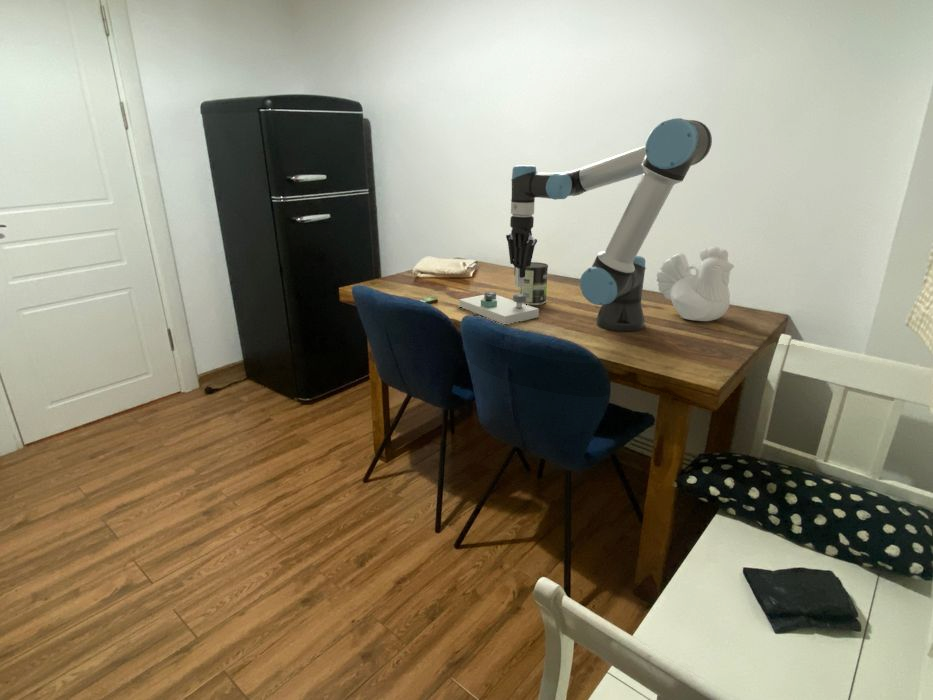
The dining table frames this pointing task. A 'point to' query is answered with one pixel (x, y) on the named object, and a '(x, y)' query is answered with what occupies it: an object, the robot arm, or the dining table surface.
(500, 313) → the panel
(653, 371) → the dining table surface
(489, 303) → the knob
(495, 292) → the knob far
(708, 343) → the dining table surface
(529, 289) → the coffee can
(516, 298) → the knob near
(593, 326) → the dining table surface
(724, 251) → the decorative rooster
